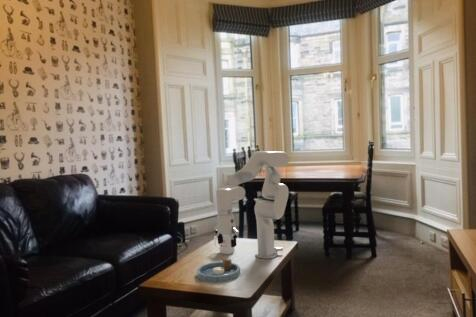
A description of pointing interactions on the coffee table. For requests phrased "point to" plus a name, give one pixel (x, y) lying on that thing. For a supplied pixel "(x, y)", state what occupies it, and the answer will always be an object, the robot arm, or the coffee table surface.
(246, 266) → the coffee table surface
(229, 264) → the walnut bead
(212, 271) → the ring tray
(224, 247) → the mug
